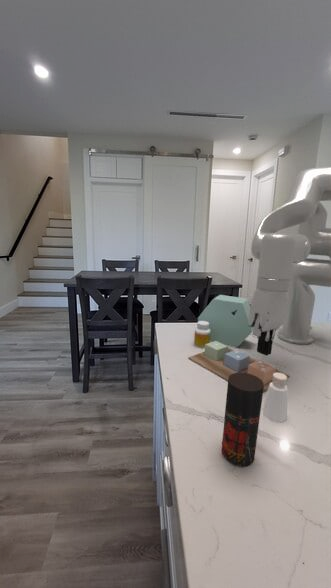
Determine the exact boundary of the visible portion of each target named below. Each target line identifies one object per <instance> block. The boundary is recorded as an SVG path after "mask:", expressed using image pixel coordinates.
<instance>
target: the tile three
mask: <svg viewBox="0 0 331 588" xmlns="http://www.w3.org/2000/svg"><path fill="white" fill-rule="evenodd" d="M275 369H276V366H273V365H271V364H269V363H267V362H265V361H262V360H257V361H256V362H254V363H252V364H249V365H248V372H247V373H248V374H252V375H254V376H256V377H258V378H260V379H261V380H262V381H263V383H264V386H265V385H267V384H268V383H270V382H272V381H273V374H274V373H275Z"/></svg>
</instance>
